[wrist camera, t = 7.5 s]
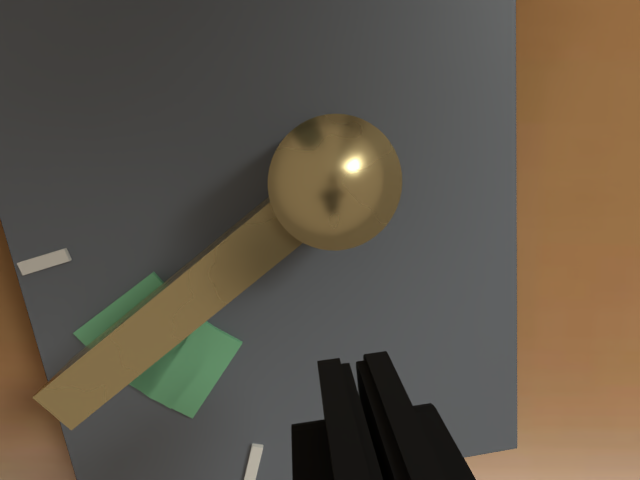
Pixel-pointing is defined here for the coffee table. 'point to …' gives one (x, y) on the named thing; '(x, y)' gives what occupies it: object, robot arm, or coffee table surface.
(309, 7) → the dial plate
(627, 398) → the coffee table surface
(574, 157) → the coffee table surface
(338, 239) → the needle
